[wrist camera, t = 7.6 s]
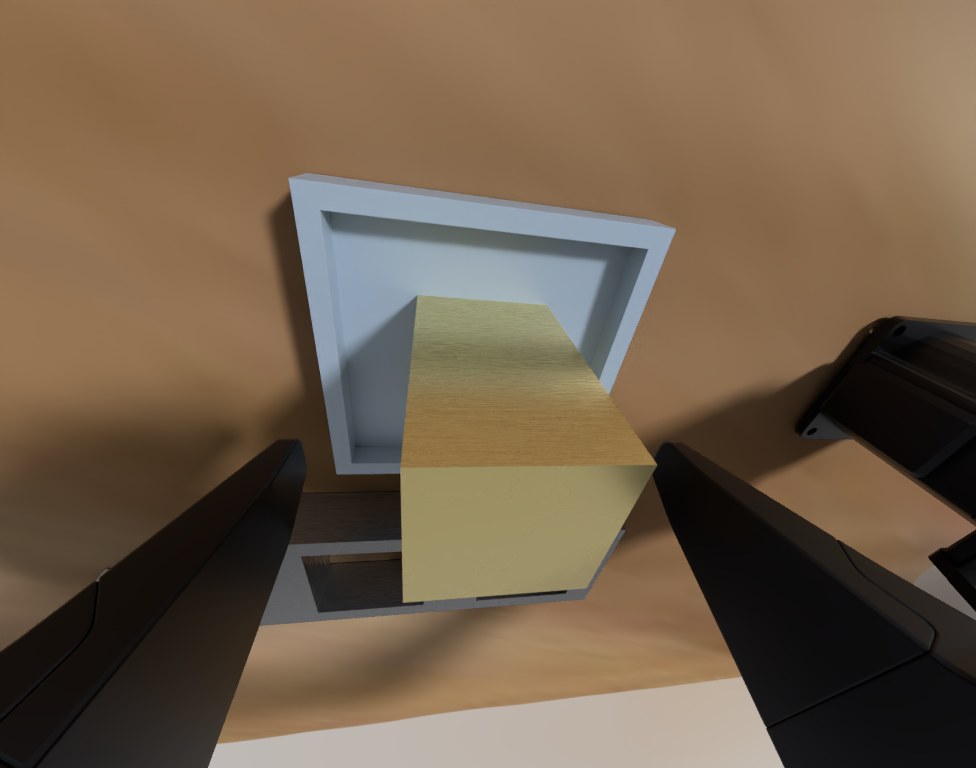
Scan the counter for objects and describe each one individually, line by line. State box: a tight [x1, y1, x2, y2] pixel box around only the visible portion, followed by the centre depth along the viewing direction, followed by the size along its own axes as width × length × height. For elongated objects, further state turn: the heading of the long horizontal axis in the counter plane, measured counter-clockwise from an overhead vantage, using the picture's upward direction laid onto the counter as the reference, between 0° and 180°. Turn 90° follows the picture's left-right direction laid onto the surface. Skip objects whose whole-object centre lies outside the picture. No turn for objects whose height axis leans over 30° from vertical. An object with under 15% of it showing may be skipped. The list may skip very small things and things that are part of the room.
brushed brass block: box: [400, 295, 657, 603], centre depth 9 cm, size 4×4×7 cm
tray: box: [289, 173, 676, 474], centre depth 12 cm, size 10×10×2 cm
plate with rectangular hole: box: [259, 492, 626, 626], centre depth 18 cm, size 18×7×2 cm, turn 82°
